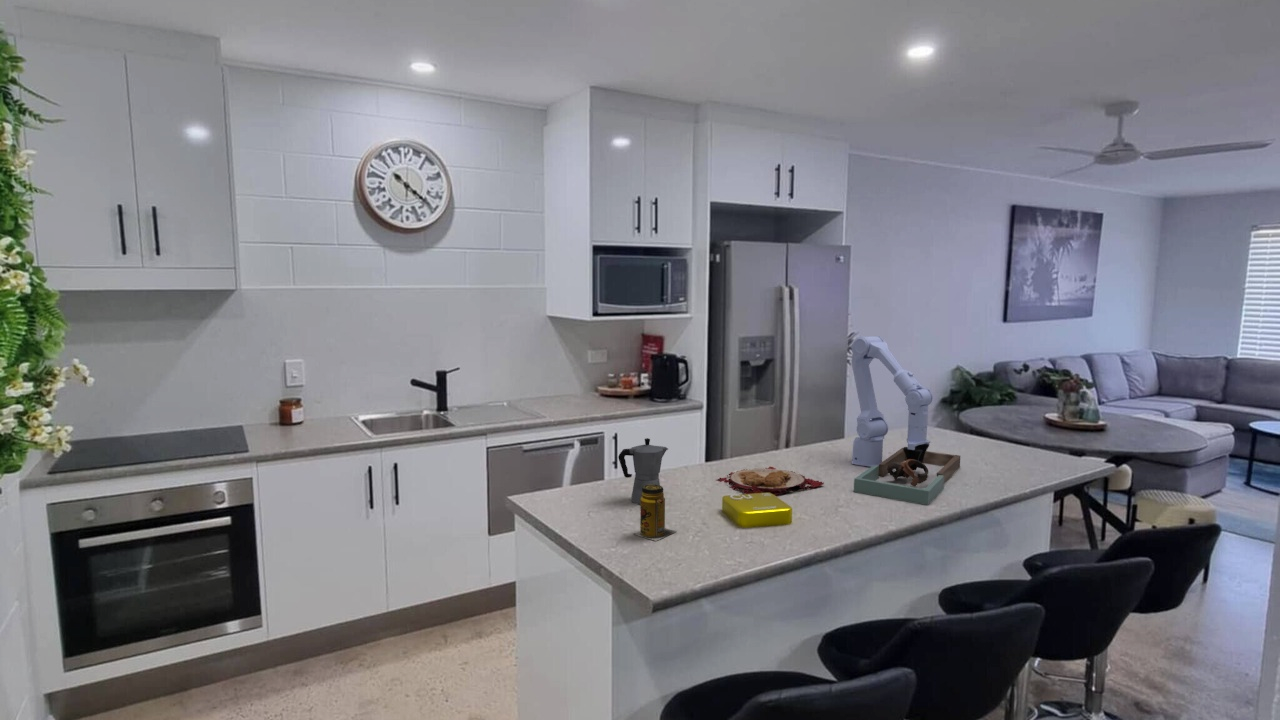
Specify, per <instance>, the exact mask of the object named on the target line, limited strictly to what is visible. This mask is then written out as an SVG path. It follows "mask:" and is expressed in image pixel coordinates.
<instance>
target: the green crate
mask: <svg viewBox="0 0 1280 720" xmlns="http://www.w3.org/2000/svg"><path fill="white" fill-rule="evenodd" d="M879 477H880V476H879V466H878V465H873V466H872V467H868V468H867V469H866V470H865V471H863V472H862V473H860V474H859V475H857V476H856V477H854V479H853V492H854V493H859V494H865V495H870V496H876V497H881V498H886V499H890V500H891V499H892V500H896V501H897V500H898V501H903V502H909V503H914V504H919V505H924V506H925V505H926V506H929V505H930V504H931V503H932V502H933V500H934V499H935V498H936V497H937V496H938V495H939V494H940V493H941V492H942V491H943V489H944V487H945V485H944V484H945V483H944V476H942V475H938V476H937V475H936V477H935V478H934V479H933V480H931V482H930V483H929V484H928V485H927V486H925V488H921V487H916V486H915V487H914V486H909V485H908V486H907V485H902V484H897V483H891V482H885V481H879V480H877V479H879ZM941 490H942V491H941Z"/></svg>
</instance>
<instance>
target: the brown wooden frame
mask: <svg viewBox="0 0 1280 720" xmlns="http://www.w3.org/2000/svg"><path fill="white" fill-rule="evenodd" d="M903 448H904V447H902V448H900V449H899V450H897V451H896V452H894V453H893V454H891V455H890V456H888V458H886V459H884V460H882V462H881V463H880V464H879V476H878V477H880V478H884V477H885V476H887V475H888V474H889V473H888V470H887V467H888V465H889V464H891V463H896V464H901V463H903V462H906V460H907V457H906V455H905V453H904V451H903ZM923 464H928V465H933V466H934V465H935V466H941V467H942V468H940V470H938V471H937V472H936V477H937V476H938V475H942V476H944V484H945V483H946V482H948V481H949V479H950V478H951V477H952V476H953V475H954V474H955V473H956V472H957V471H958V470H959V469H960V467H961V466H960V465H961V455H958V454H950V453H943V452H937V451H936V452H935V451H930V450H929V451H928V450H926V453H925V456H924V459H923ZM894 470H895V469H894V468H893V469H892V471H894Z"/></svg>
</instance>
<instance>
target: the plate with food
mask: <svg viewBox="0 0 1280 720" xmlns="http://www.w3.org/2000/svg"><path fill="white" fill-rule="evenodd" d="M728 478H729V479H728ZM716 481H717V482H719V483H720V482H723V483H724V484H726V486H727V487H728V488H729V489H731V490H735V491H741V492H743V494H754V493H771V494H773V495H775V496H776V497H777V496H778V495H781V494H785V493H793V491H792V490H788V489H789V488H793V487H794V488H795V487H798V488H799V489H798V490H797V492H802V491H809V490H810V489H812V488H816V487H821V486H823V485H824V484H825V483H824V482H823V481H819V480H814V479H813V478H806V476H805V475H803V474H800V473H796V472H795V471H792V470H786V469H777V468H776V467H774V466H769V467H768V468H767V467H765V468H752V469H748V468H746V469H741V470H737V471H736V472H732V471H731V472H730V473H729V474H728V475H726V477H719V479H716ZM728 484H729V485H731V486H729V485H728ZM750 490H752V491H750Z"/></svg>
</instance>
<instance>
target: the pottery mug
mask: <svg viewBox="0 0 1280 720" xmlns="http://www.w3.org/2000/svg"><path fill="white" fill-rule="evenodd" d="M913 464H916V465H917V469H922V470H923V473H920V472H919V473H918V474H917V475H915V474H916V471H915V470H912V469H911V468H910V467H909V466H911V465H913ZM893 468H894V469H893ZM892 469H893V470H892ZM887 470H888V474H889V476H892V477H893V479H894V481H896V480H898V478H901V477H902V478H905V479H909V478H912V480H911V481H910V486H911V487H915V488H916V487H917V486H918V485H919V484H922V483H924V482H926V481H927V480H928V475H929V468H928V467H927V466H926V464H925V463H921V462H920V461H917V460H914V459H908V460H905V461H903V462H902V463H901V464H896V463H891V464H889V465H888V467H887ZM894 470H895V471H894Z"/></svg>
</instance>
